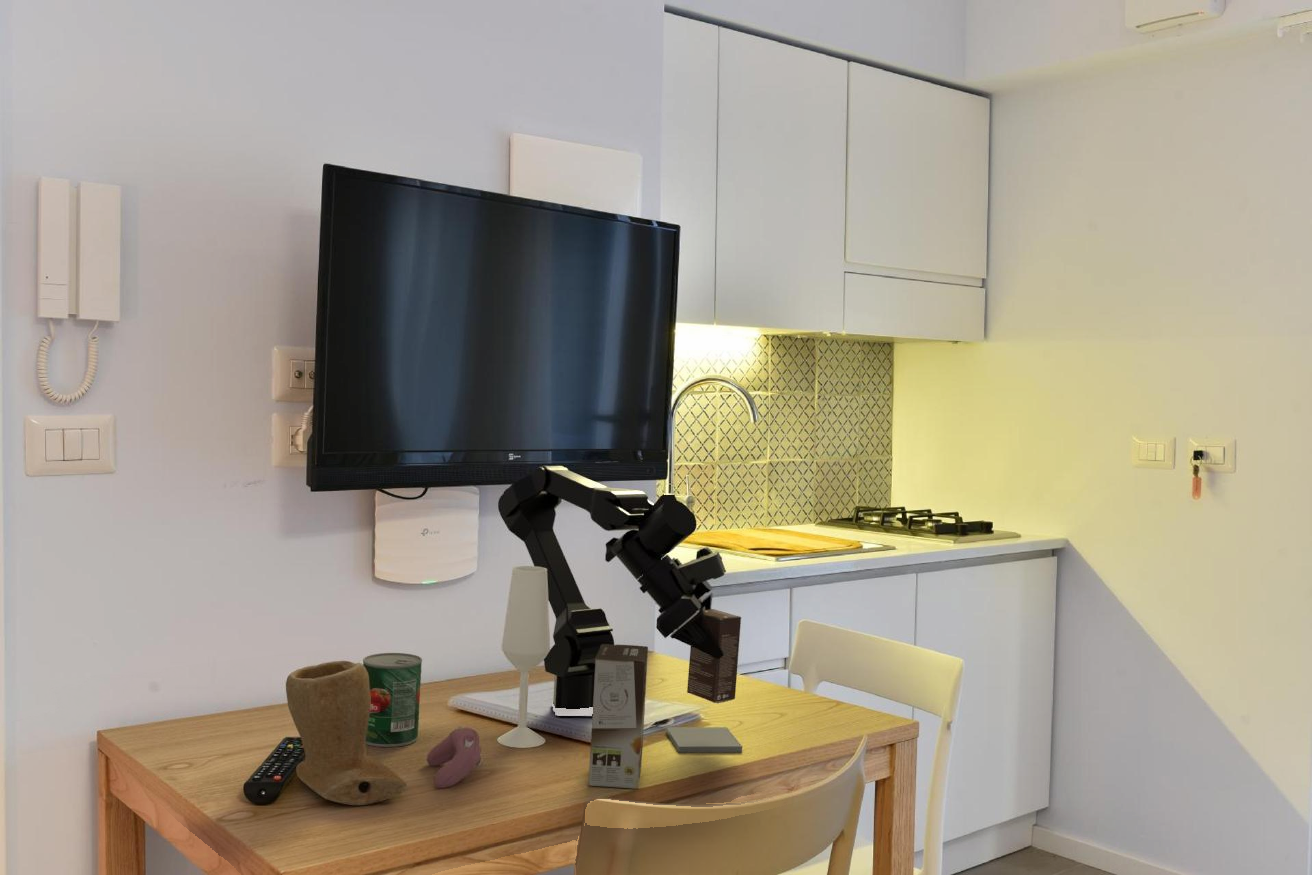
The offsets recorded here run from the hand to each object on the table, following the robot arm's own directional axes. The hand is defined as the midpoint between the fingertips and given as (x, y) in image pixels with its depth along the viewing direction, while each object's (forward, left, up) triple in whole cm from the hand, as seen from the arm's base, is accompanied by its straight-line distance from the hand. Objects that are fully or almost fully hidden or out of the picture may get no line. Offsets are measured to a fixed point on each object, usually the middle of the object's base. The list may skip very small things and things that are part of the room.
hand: (723, 651), depth 161 cm
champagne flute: (-28, +2, -13) cm, 31 cm away
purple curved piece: (-37, -13, -13) cm, 42 cm away
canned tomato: (-46, +3, -13) cm, 48 cm away
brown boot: (-51, -17, -13) cm, 55 cm away
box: (-1, +1, -7) cm, 7 cm away
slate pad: (-2, 0, -13) cm, 13 cm away
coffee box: (-17, -13, -13) cm, 25 cm away
